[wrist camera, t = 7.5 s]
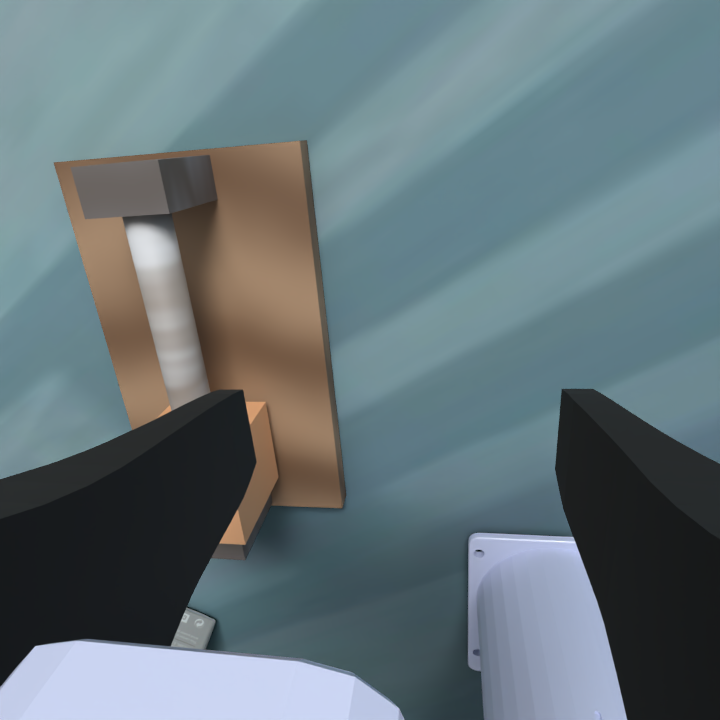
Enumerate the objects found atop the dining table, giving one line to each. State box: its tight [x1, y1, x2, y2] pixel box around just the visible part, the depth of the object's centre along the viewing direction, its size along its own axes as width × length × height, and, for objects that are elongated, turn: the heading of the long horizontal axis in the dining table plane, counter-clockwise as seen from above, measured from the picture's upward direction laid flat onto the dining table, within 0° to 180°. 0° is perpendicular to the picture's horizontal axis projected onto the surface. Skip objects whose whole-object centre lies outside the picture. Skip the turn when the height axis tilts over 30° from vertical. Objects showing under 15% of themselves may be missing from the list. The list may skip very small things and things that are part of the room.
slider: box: [156, 402, 278, 545], centre depth 22 cm, size 4×4×4 cm
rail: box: [54, 141, 346, 560], centre depth 21 cm, size 16×10×5 cm, turn 5°
